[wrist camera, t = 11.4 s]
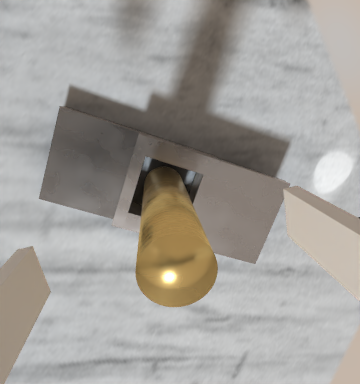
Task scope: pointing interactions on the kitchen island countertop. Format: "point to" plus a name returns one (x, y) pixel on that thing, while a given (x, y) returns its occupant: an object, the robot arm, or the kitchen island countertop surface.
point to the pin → (172, 244)
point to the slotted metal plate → (129, 174)
